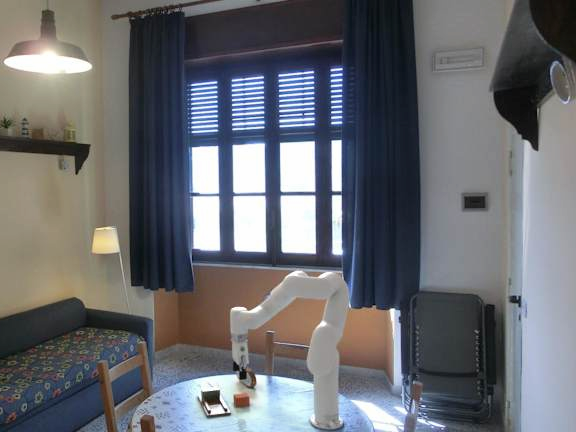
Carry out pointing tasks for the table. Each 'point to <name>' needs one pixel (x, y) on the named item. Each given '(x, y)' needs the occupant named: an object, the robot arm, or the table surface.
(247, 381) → the tin
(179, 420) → the table surface
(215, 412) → the cradle
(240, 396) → the block
